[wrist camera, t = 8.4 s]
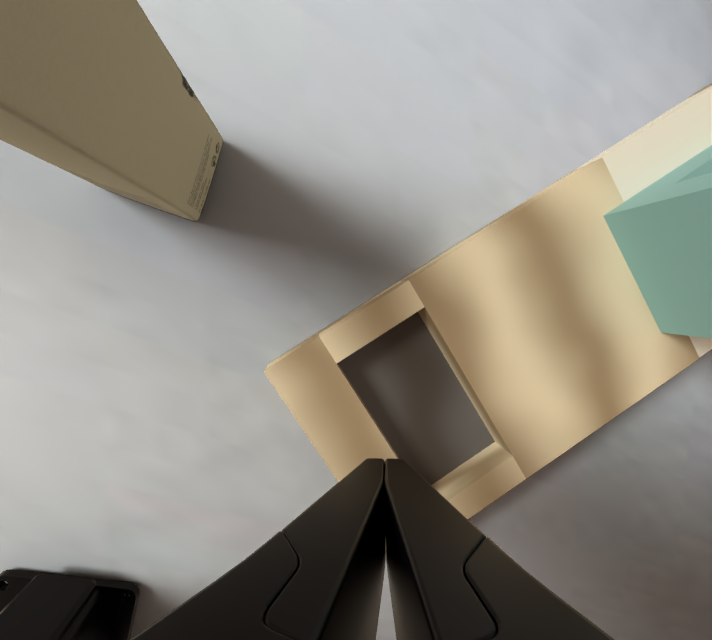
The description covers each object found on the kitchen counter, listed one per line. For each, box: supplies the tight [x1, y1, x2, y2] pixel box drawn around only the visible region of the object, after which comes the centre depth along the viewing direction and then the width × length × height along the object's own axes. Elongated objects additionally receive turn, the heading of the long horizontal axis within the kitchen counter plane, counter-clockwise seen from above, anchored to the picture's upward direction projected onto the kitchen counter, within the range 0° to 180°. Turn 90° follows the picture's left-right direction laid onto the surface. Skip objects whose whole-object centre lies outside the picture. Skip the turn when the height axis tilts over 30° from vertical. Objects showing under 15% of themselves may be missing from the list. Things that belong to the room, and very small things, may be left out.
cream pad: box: [575, 86, 712, 357], centre depth 20 cm, size 8×12×2 cm, turn 32°
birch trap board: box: [264, 84, 712, 519], centre depth 20 cm, size 37×12×2 cm, turn 122°
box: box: [0, 0, 223, 221], centre depth 11 cm, size 5×4×13 cm
